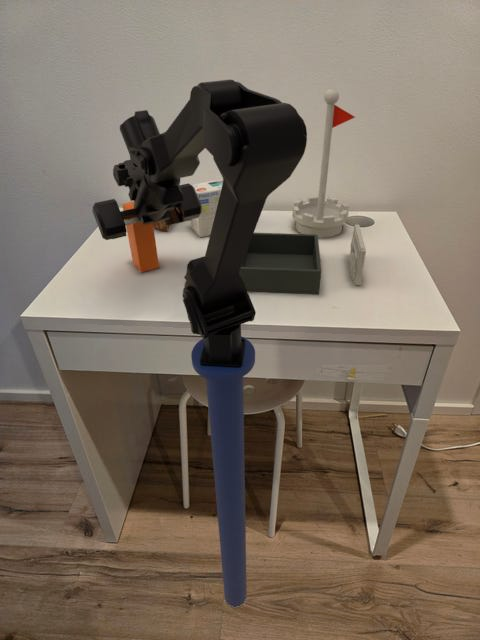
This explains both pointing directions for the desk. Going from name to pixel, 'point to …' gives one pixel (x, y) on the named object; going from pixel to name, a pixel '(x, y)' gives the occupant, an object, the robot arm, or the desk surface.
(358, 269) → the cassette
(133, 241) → the block
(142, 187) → the robot arm
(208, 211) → the light bulb box
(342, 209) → the flag stand
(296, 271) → the open storage bin
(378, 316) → the desk surface
